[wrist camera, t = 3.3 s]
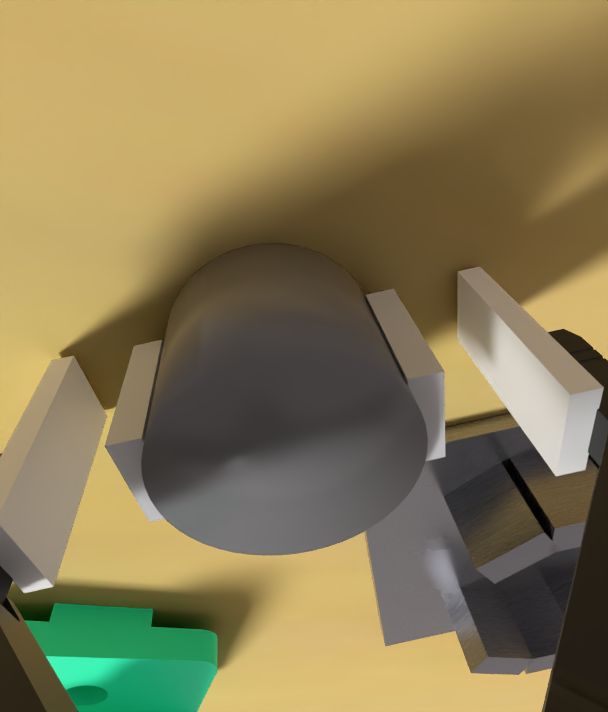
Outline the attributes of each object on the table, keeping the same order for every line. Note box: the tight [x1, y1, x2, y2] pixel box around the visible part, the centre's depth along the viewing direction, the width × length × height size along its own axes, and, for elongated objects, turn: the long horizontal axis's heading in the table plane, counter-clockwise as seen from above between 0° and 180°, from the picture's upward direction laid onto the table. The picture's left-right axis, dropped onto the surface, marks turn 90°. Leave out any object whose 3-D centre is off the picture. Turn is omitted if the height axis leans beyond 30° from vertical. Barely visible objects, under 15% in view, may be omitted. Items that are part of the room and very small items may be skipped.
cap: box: [105, 243, 445, 555], centre depth 15 cm, size 7×8×6 cm
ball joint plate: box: [364, 413, 599, 675], centre depth 23 cm, size 16×16×4 cm
